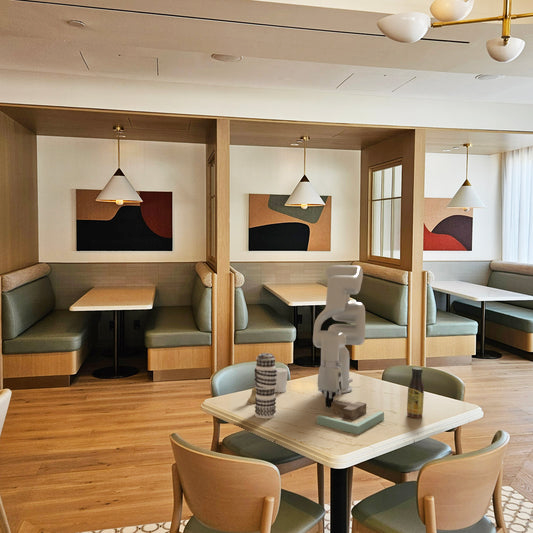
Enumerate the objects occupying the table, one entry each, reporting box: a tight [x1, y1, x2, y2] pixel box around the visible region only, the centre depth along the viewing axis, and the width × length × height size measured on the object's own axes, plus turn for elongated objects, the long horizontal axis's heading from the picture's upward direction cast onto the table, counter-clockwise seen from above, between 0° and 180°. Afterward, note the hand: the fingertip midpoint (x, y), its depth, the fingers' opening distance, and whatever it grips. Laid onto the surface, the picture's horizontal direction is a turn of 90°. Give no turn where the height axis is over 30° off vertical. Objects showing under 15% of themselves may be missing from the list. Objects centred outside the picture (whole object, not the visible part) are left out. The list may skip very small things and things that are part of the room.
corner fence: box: [316, 410, 385, 435], centre depth 207 cm, size 22×18×3 cm
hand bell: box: [247, 370, 257, 404], centre depth 233 cm, size 8×8×16 cm
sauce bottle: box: [406, 366, 425, 419], centre depth 214 cm, size 6×6×20 cm
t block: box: [330, 399, 367, 421], centre depth 217 cm, size 12×12×4 cm
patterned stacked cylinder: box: [254, 352, 277, 419], centre depth 214 cm, size 9×9×25 cm
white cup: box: [275, 367, 289, 393], centre depth 250 cm, size 8×8×10 cm
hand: (329, 406), depth 222 cm, fingers closed
